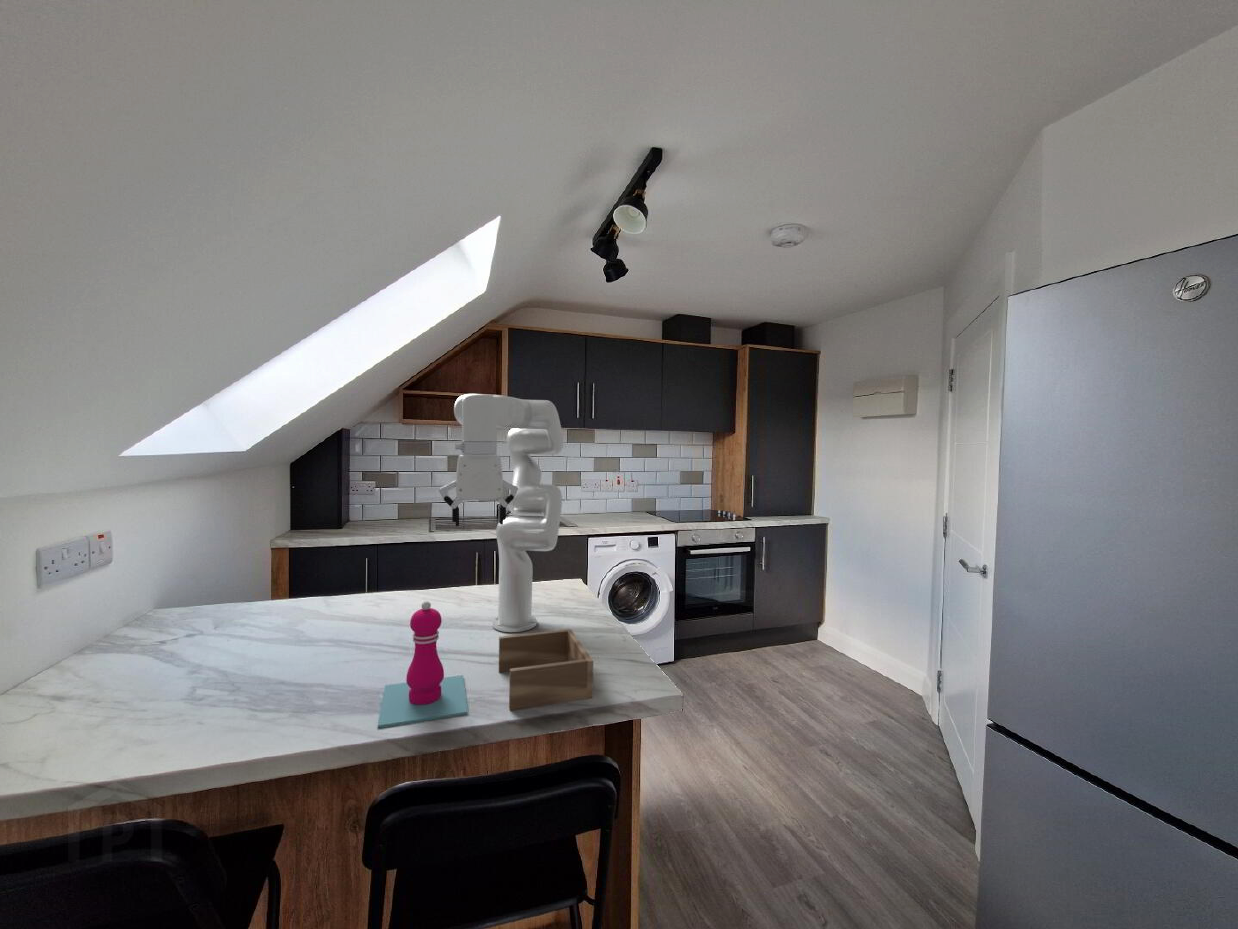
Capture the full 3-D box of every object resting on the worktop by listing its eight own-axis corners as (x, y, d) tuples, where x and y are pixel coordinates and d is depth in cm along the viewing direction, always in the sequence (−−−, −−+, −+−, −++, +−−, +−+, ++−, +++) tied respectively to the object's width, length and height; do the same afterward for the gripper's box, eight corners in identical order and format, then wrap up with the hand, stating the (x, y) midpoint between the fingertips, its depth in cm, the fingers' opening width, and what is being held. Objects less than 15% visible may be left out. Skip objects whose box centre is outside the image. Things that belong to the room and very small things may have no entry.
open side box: (498, 670, 117) (499, 636, 117) (570, 661, 123) (570, 629, 123) (509, 710, 100) (510, 671, 100) (592, 697, 106) (593, 660, 106)
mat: (385, 687, 108) (385, 685, 108) (463, 677, 114) (463, 675, 114) (377, 728, 93) (377, 725, 93) (467, 714, 99) (467, 711, 99)
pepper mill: (451, 692, 106) (452, 598, 105) (427, 709, 99) (428, 609, 98) (423, 686, 108) (423, 594, 107) (398, 702, 101) (398, 604, 100)
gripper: (438, 450, 107) (438, 529, 108) (520, 450, 113) (519, 525, 114) (438, 448, 114) (439, 522, 115) (515, 448, 120) (515, 519, 121)
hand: (479, 524), depth 115 cm, fingers open, 9 cm apart
